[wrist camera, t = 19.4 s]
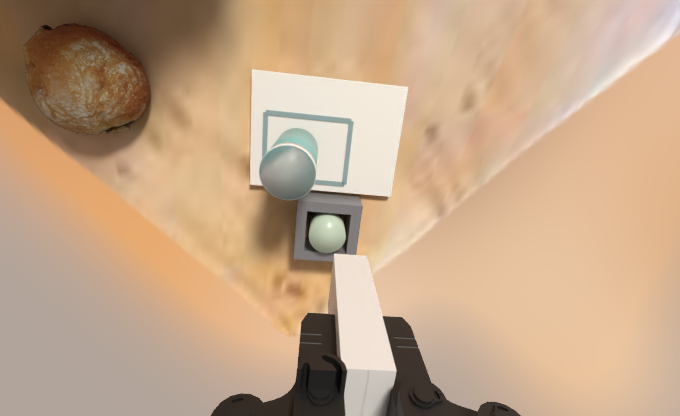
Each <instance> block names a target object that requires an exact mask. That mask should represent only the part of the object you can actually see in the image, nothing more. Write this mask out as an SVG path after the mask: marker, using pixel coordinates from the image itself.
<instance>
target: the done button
mask: <svg viewBox="0 0 680 416" xmlns="http://www.w3.org/2000/svg"><path fill="white" fill-rule="evenodd" d="M345 239H346V233H345V226H344V220H343V217H342V215H341V214H335V213H323V212H314V213H313V214H312V216H311V219H310V227H309V241H310V244H311V245H312V246H313V248H314V249H316V250H317V251H319V252H322V253H332V252H335V251H337V250H339V249H340V248H341V247H342V246H343V244H344V242H345Z"/></svg>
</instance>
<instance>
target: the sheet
mask: <svg viewBox="0 0 680 416" xmlns="http://www.w3.org/2000/svg"><path fill="white" fill-rule="evenodd" d="M407 92H408V87H403V86H394V85H385V84H376V83H367V82H359V81H350V80H341V79H332V78H323V77H314V76H306V75H297V74H288V73H279V72H270V71H262V70H253V69H252V95H251V154H250V185H261V186H263V185H262V183H261V181H260V177H259V165H260V162H261V160H262V158H263V156H264V155H265V154H266V152H267V151H268V150H269V149H270V148H271V147H272V146H273V145H274V143H275V142H276V141H277V139H278V138H279V137H280V136H281V134H282V133H284V132H285V131H287V130H289V129H292V128H300V129H304V130H306V131H308V132H309V133H311V134H312V135H313V137H314V138H315V140H316V142H317V145H318V156H317V167H316V168H317V173H316V181H315V183H314V186H313V187H312V189H311V190H318V191H330V192H341V193H353V194H364V195H376V196H388V197H391V190H392V184H393V178H394V172H395V166H396V160H397V154H398V147H399V141H400V135H401V129H402V123H403V117H404V111H405V104H406V98H407Z"/></svg>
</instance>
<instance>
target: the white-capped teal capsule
mask: <svg viewBox="0 0 680 416" xmlns="http://www.w3.org/2000/svg"><path fill="white" fill-rule="evenodd" d="M317 156H318V145H317V142H316V140H315V138H314V137H313V135H312V134H311V133H309V132H308V131H306V130H304V129H300V128H292V129H289V130H287V131H285V132H284V133H282V134H281V136H280V137H279V138H278V139H277V141H276V142H275V143H274V145H273V146H272V147H271V148H270V149H269V150H268V151H267V152H266V154H265V155H264V156H263V158H262V160H261V162H260V165H259V177H260V181H261V183H262V185H263V187H264V188H265V189H266V190H267V191H268V192H269V193H270V194H271V195H273V196H274V197H276V198H279V199H282V200H296V199H299V198H301V197H303V196H305V195H306V194H307V193H308V192H309V191H310V190H311V189H312V187H313V186H314V183H315V181H316V173H317V168H316V167H317Z"/></svg>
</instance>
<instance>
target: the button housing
mask: <svg viewBox="0 0 680 416" xmlns="http://www.w3.org/2000/svg"><path fill="white" fill-rule="evenodd" d="M362 207H363V206H362V203H361V200H360V197H359V196H352V195H340V194H329V193H317V192H308V193H307V194H306V195H305V196H303V197H301V198H299V199H298V200H297V214H296V229H295V244H294V259H299V260H313V261H327V262H333V257H334V254H347V255H356V251H357V244H358V236H359V229H360V221H361V214H362ZM307 211H311V212H323V213H335V214H348V216H347V224H346V239H345V242H344V244H343V246H342V247H341V248H340V249H339V250H337V251H335V252H332V253H322V252H319V251H317V250H316V249H314V248H313V246H312V245H311V244H310V241H309V238H305V237H306V224H307Z"/></svg>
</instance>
